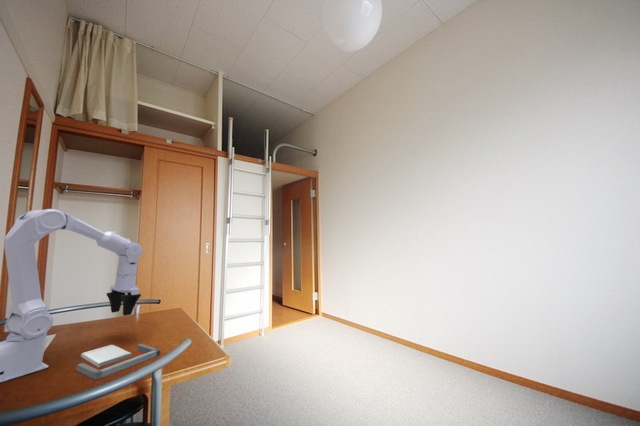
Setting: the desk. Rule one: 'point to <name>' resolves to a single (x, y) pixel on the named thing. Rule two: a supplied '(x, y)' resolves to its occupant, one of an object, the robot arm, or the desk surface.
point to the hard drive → (105, 355)
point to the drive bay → (98, 374)
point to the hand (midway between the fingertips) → (121, 313)
